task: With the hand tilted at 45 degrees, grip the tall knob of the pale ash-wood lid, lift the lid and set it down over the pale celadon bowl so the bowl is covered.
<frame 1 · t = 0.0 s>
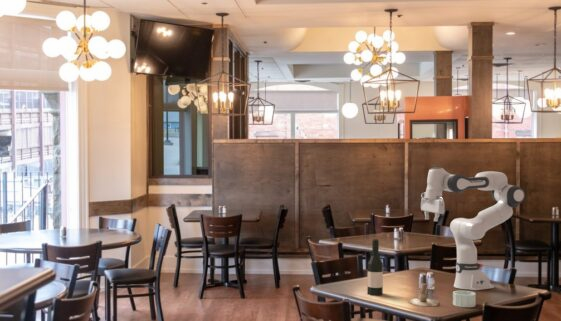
hand: (431, 220, 380), 39 cm above the table, tool pointing down, fingers open, 8 cm apart
bowl: (464, 304, 345), on the table
lid: (423, 303, 348), on the table
wine bottle: (375, 294, 368), on the table
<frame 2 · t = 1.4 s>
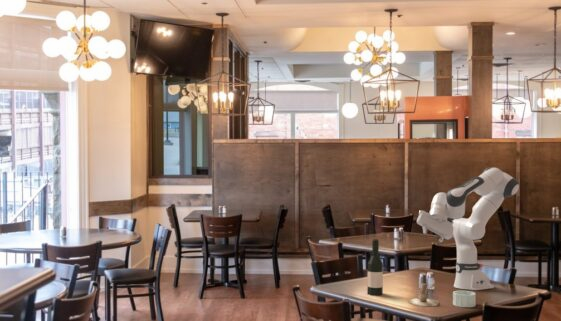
hand: (432, 237, 354), 33 cm above the table, tool tilted 50°, fingers open, 8 cm apart
nothing on the table moved.
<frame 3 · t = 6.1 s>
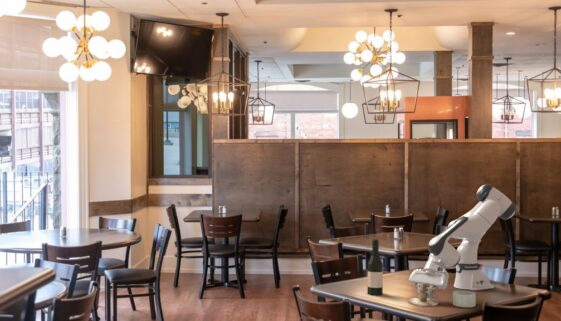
hand: (423, 292, 347), 5 cm above the table, tool tilted 45°, fingers closed on lid, 3 cm apart
lid: (423, 303, 348), on the table, touching gripper
everything else where it was.
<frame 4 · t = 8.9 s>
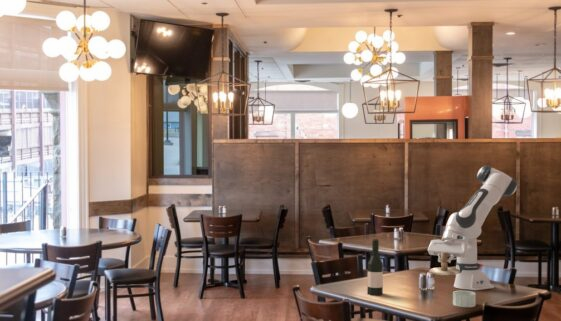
hand: (444, 261, 344), 22 cm above the table, tool tilted 45°, fingers closed on lid, 3 cm apart
lid: (444, 272, 345), point 16 cm above the table, touching gripper
everything else where it was.
when the fingers open (13 cm above the table, at t = 11.8 s): lid drops 1 cm, resting on bowl.
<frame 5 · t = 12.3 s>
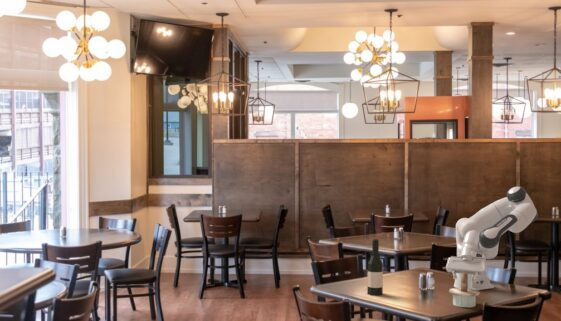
hand: (464, 279, 344), 13 cm above the table, tool tilted 45°, fingers open, 8 cm apart
lid: (464, 292, 344), point 6 cm above the table, touching bowl
everything else where it was.
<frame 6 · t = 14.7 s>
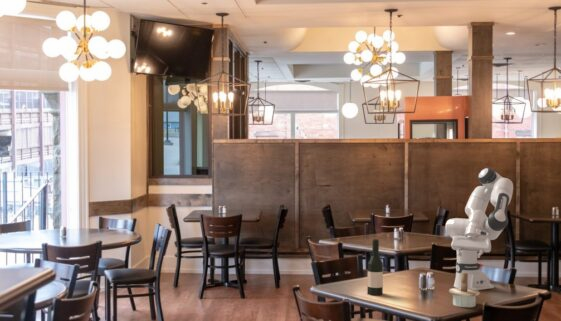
hand: (468, 256, 354), 23 cm above the table, tool tilted 45°, fingers open, 8 cm apart
nothing on the table moved.
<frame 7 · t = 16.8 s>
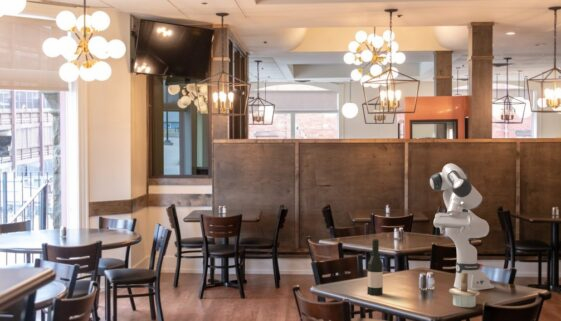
hand: (450, 233, 358), 34 cm above the table, tool tilted 45°, fingers open, 8 cm apart
nothing on the table moved.
at the end: lid 0.0 cm off-centre on the bowl, point 6.0 cm above the bowl's base; lid tilted 0°; the gripper is holding nothing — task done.
